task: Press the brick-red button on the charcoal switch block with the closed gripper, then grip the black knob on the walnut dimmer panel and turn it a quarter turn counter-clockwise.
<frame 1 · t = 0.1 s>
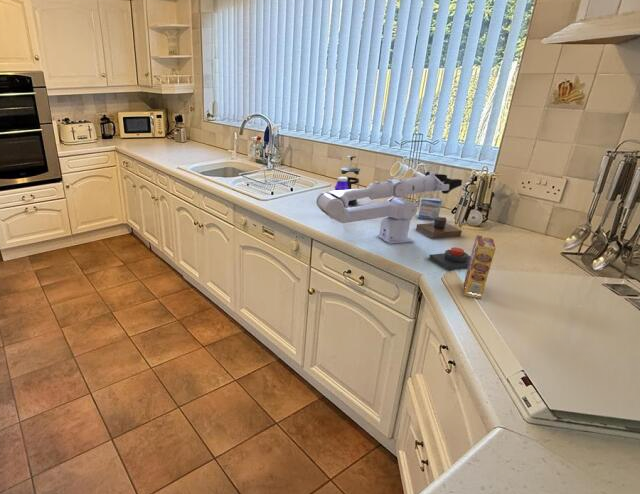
hand: (453, 180, 143), 22 cm above the countertop, tool horizontal, fingers open, 7 cm apart
bottle: (338, 216, 174), on the countertop
candy box: (472, 291, 112), on the countertop
switch block: (454, 263, 128), on the countertop
switch button: (456, 251, 127), point 4 cm above the countertop, slide at 0.1 cm
medicine box: (427, 218, 170), on the countertop
french press: (346, 203, 193), on the countertop
dimmer panel: (437, 233, 153), on the countertop
dimmer knob: (439, 222, 152), point 4 cm above the countertop, hinge at 0.0°
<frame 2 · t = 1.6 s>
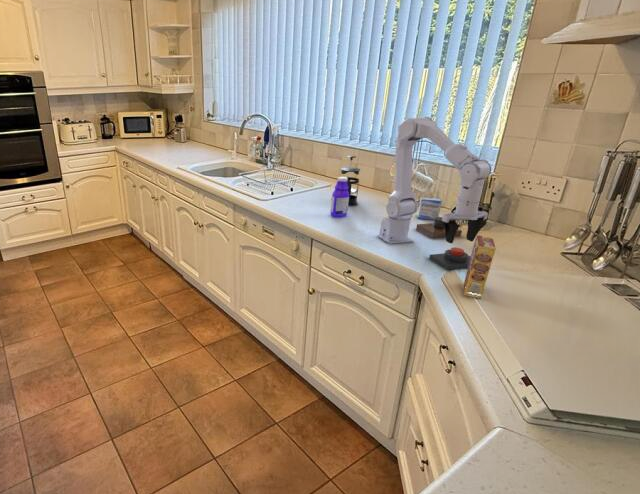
hand: (459, 241, 125), 8 cm above the countertop, tool pointing down, fingers open, 7 cm apart
nothing on the countertop moved.
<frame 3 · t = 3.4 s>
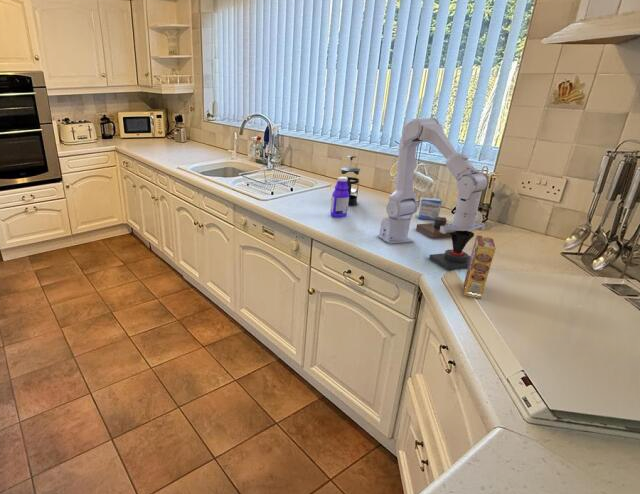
hand: (457, 252, 127), 4 cm above the countertop, tool pointing down, fingers closed, pressing on switch button
switch button: (456, 254, 127), point 3 cm above the countertop, slide at -0.7 cm, touching gripper
everything else where it was.
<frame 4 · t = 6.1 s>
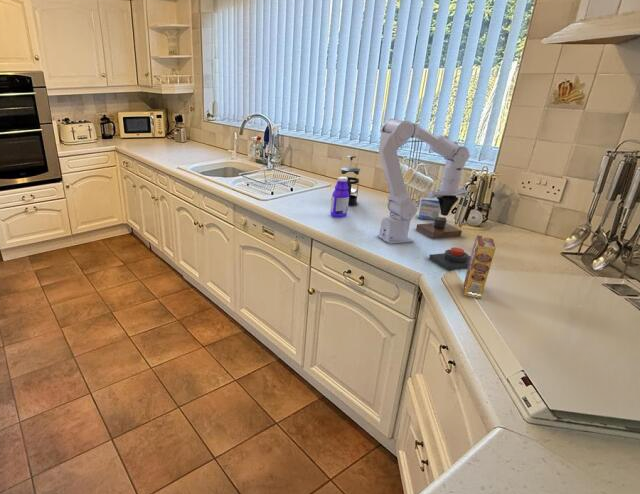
hand: (444, 214, 147), 9 cm above the countertop, tool pointing down, fingers closed
switch button: (456, 251, 127), point 4 cm above the countertop, slide at 0.1 cm
everything else where it was.
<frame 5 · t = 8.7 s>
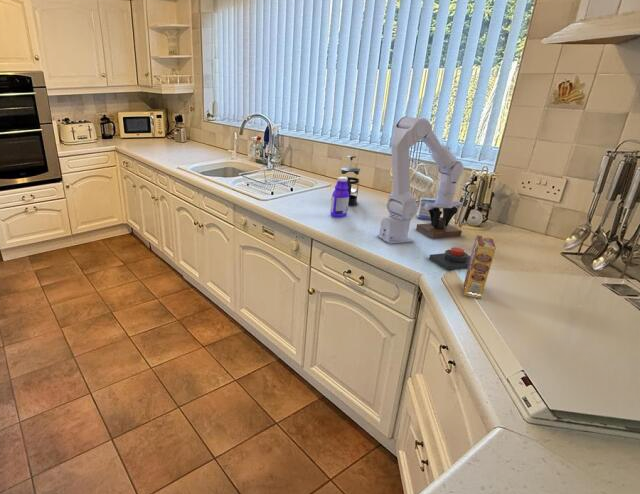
hand: (439, 226, 152), 3 cm above the countertop, tool pointing down, fingers closed on dimmer knob, 4 cm apart
dimmer knob: (439, 222, 152), point 4 cm above the countertop, hinge at 0.0°, touching gripper
everything else where it was.
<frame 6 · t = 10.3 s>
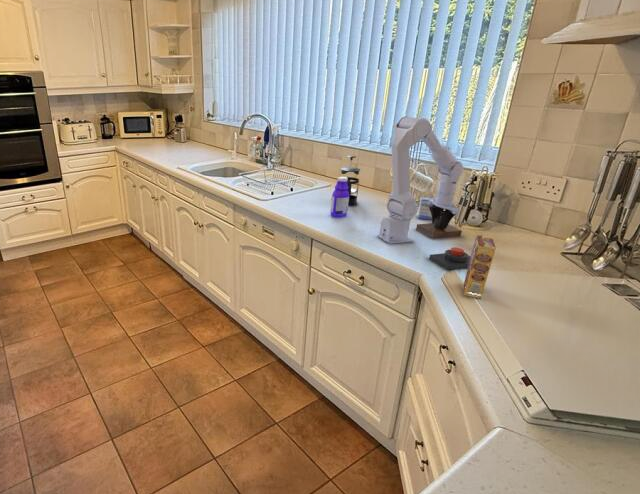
hand: (439, 226, 152), 3 cm above the countertop, tool pointing down, fingers closed on dimmer knob, 4 cm apart
dimmer knob: (439, 222, 152), point 4 cm above the countertop, hinge at 90.5°, touching gripper
everything else where it was.
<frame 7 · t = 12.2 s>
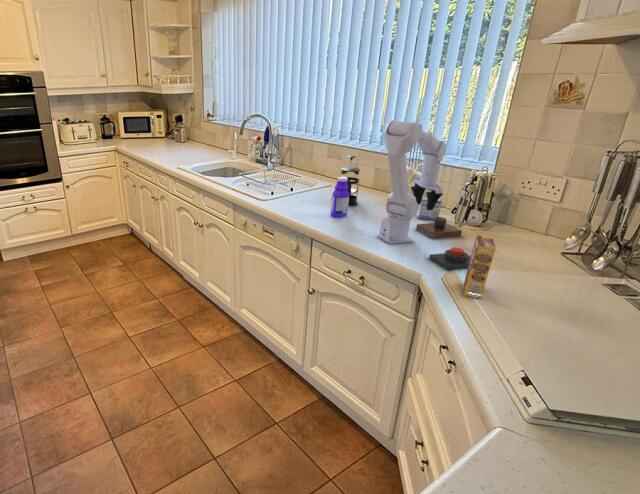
hand: (423, 206, 154), 9 cm above the countertop, tool pointing down, fingers open, 7 cm apart
dimmer knob: (439, 222, 152), point 4 cm above the countertop, hinge at 90.2°
everything else where it was.
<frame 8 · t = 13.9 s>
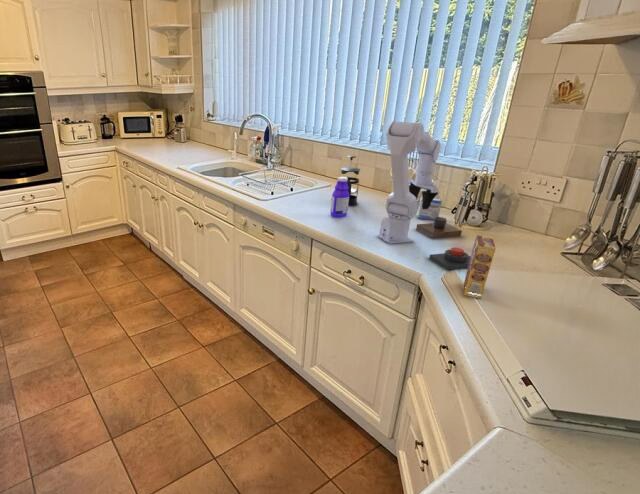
hand: (418, 205, 155), 9 cm above the countertop, tool pointing down, fingers open, 7 cm apart
nothing on the countertop moved.
at the end: switch button pushed in 1.2 cm at the most during the clip, back to where it started at the end; switch button slide at 0.1 cm; dimmer knob at +90° (first picture: +0°) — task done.
